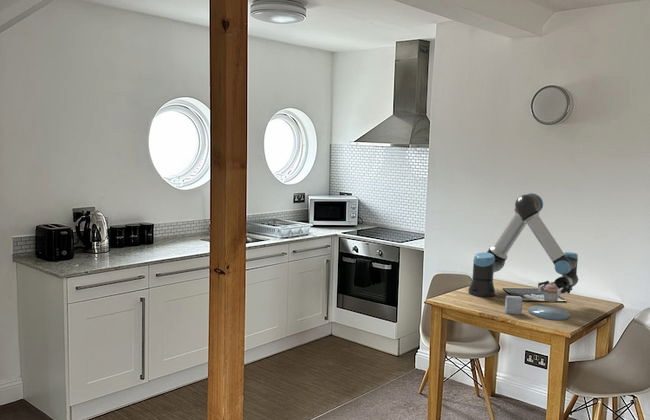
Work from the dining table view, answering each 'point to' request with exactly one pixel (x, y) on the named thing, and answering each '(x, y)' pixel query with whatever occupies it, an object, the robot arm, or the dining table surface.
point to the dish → (549, 312)
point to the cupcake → (550, 292)
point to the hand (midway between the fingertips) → (548, 290)
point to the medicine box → (513, 305)
